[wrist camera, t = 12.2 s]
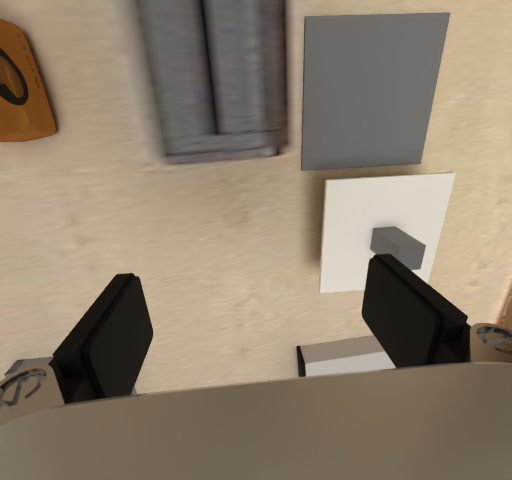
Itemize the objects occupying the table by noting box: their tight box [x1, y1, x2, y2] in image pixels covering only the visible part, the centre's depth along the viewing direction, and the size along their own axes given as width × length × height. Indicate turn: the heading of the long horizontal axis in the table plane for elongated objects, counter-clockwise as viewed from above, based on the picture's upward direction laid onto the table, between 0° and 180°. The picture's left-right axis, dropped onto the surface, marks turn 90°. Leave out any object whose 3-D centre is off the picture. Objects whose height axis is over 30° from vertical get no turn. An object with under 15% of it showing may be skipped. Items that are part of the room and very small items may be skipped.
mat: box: [301, 13, 450, 171], centre depth 36 cm, size 18×18×1 cm
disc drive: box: [297, 335, 396, 377], centre depth 55 cm, size 18×22×5 cm
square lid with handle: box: [319, 172, 456, 293], centre depth 32 cm, size 16×16×7 cm
